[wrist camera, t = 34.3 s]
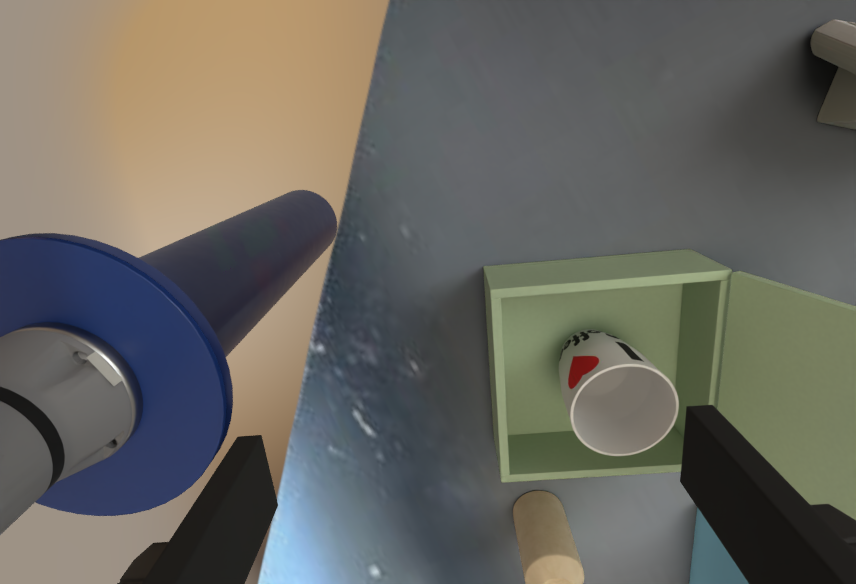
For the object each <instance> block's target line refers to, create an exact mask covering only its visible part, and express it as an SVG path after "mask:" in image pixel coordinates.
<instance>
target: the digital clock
mask: <svg viewBox="0 0 856 584" xmlns="http://www.w3.org/2000/svg"><path fill="white" fill-rule="evenodd" d="M811 49H812V53H813V54H814V55H815V56H817V57H819V58H822V59H824V60H826V61H828V62H830V63H832V64H834V65H836V66H839V67H838V69H837V72H836V74H835V77H834V79H833V81H832V84H831V86H830V89H829V91H828V93H827V96H826V98H825V100H824V103H823V105H822V107H821V110H820V112H819V115H818V117H817V121H818V122H820V123H825V124H830V125H835V126H839V127H844V128H849V129H854V130H856V23H853V22H846V21H841V20H835V19H834V20H832V21H830V22H828V23H826V24H824V25H822V26H821V27H819V28H817V29H816V30H815V31H814V33H813V35H812V37H811Z"/></svg>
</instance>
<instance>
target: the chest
mask: <svg viewBox="0 0 856 584" xmlns="http://www.w3.org/2000/svg"><path fill="white" fill-rule="evenodd" d="M483 271H484V288H485V304H486V320H487V336H488V353H489V369H490V385H491V402H492V418H493V434H494V442H495V448H496V454H497V460H498V466H499V472H500V478H501V482H519V481H535V480H552V479H568V478H585V477H601V476H618V475H634V474H651V473H667V472H681V466H682V454H683V442H684V430H685V418H686V406H700V405H713V406H714V407H715V408H716V409H717V407H718V398H719V389H720V379H721V370H722V361H723V351H724V342H725V332H726V323H727V314H728V304H729V295H730V286H731V280H730V279H731V278H732V269H730V268H727V267H725V266H723V265H721V264H719V263H717V262H715V261H713V260H711V259H709V258H707V257H705V256H703V255H701V254H699V253H697V252H695V251H693V250H691V249H683V250H671V251H660V252H648V253H636V254H624V255H612V256H600V257H589V258H577V259H565V260H553V261H541V262H529V263H518V264H506V265H494V266H484V267H483ZM586 329H593V330H598V331H601V332H604V333H608V334H611V335H613V336H616V337H617V338H619V339H621V340H622V341H624V342H625V343H627V344H628V345H630V346H631V347H633V348H634V349H636V350H637V351H639V352H640V353H641V354H642V355H644V356H645V357H646V358H647V359H648V360H649V361H650V362H651V363H652V364H653V365H654V366H655V367H656V368H657V369H658V370H660V371H661V372H662V373H663V374H664V375H665V376H666V377H667V378H668V379H669V380H670V381H671V383H672V384H673V386H674V387H675V390H676V392H677V395H678V401H679V409H678V415H677V418H676V421H675V423H674V425H673V427H672V428H671V430H670V431H669V433H668V434H667V435H666V436H665V437H664V438H663V439H662V440H661V441H660V442H658V443H657V444H656V445H654V446H653V447H651V448H649V449H647V450H645V451H643V452H640V453H637V454H633V455H627V456H610V455H605V454H601V453H598V452H596V451H593V450H592V449H590V448H588V447H587V446H586V445H584V444H583V443H582V442H581V441H580V440H579V439H578V437H577V436H576V434H575V432H574V430H573V428H572V425H571V422H570V418H569V415H568V412H567V409H566V406H565V403H564V400H563V397H562V392H561V385H560V377H559V360H560V354H561V349H562V346H563V344H564V343H565V341H566V340H567V339H568V338H569V337H570V336H571V335H573V334H574V333H576V332H578V331H581V330H586Z"/></svg>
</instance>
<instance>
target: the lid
mask: <svg viewBox="0 0 856 584" xmlns="http://www.w3.org/2000/svg"><path fill="white" fill-rule="evenodd" d="M717 410H718V411H719V412H720V413H721V414H722V415H723V416H724V417H725V418H726V419H727V420H728V421H729V422H730V423H731V424H732V425H733V426H734V427H735V428H736V429H737V430H738V431H739V432H740V433H741V434H742V435H743V436H744V437H745V438H746V440H747V441H748V442H749V443H750V444H751V445H752V446H753V447H754V448H755V449H756V450H757V451H758V452H759V453H760V454H761V455H762V456H763V457H764V458H765V459H766V460H767V461H768V462H769V463H770V464H771V465H772V466H773V467H774V468H775V469H776V470H777V471H778V472H779V473H780V474H781V475H782V476H783V477H784V479H785V480H786V481H787V482H788V483H789V484H790V485H791V486H792V487H793V488H794V489H795V490H796V491H797V492H798V493H799V494H800V495H801V496H802V497H803V498H804V499H805V500H806V501H807V502H808V503H809V504H810V505H816V504H830V505H832V506H833V507H835V508H837V509H838V510H840V511H842V512H843V513H845V514H846V515H848V516H850V517H851V518H853V519H855V520H856V306H853V305H850V304H846V303H843V302H840V301H836V300H833V299H830V298H827V297H823V296H820V295H817V294H814V293H810V292H807V291H804V290H801V289H797V288H794V287H791V286H788V285H784V284H781V283H778V282H775V281H771V280H768V279H765V278H761V277H758V276H755V275H752V274H748V273H745V272H742V271H738V272H733V273H732V278H731V287H730V297H729V306H728V315H727V325H726V334H725V343H724V353H723V362H722V371H721V381H720V390H719V399H718V409H717Z"/></svg>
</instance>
